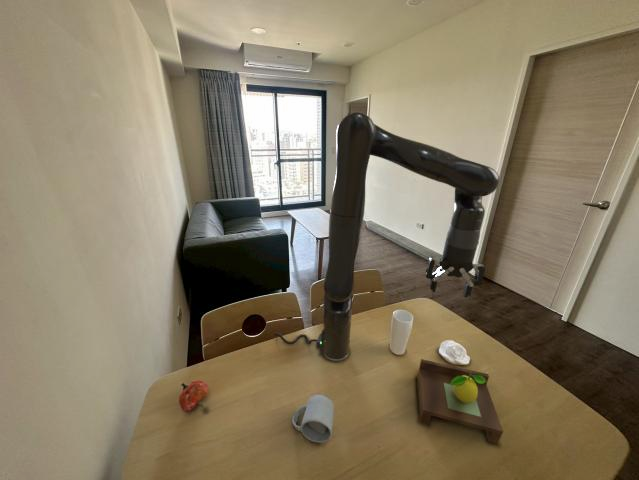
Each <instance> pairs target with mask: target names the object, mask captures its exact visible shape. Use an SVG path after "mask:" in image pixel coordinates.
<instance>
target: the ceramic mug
mask: <svg viewBox="0 0 639 480" xmlns="http://www.w3.org/2000/svg"><path fill="white" fill-rule="evenodd" d="M302 413H304V415H303V418H302V422H301V425H297V421H298V419H299V417H300V415H301V414H302ZM334 415H335V405H334V402H333V399H332V398H330V396H328V395H326V394H324V393H315V394H313V395H311V396H310V397H309V399H308V401H307V403H306V405H303V406H301V407H299V408H297V410H296V411H295V412H294V414H293V416H292V420H291V421H292V425H293V427H294V428H295V430H296V431H298V432H300V433H301V434H302V435H303V436H304V437H305V439H307V440H309V441H310V442H313V443H318V444H319V443H320V444H321V443H325V442H328V441H329V440H330V439H331V437H332V435H333V425H334Z"/></svg>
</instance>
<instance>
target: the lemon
mask: <svg viewBox="0 0 639 480" xmlns="http://www.w3.org/2000/svg"><path fill="white" fill-rule="evenodd" d="M470 376H471V372H470V375H469V376H457V377H455V378H453V379H452V381H451V383H450V384H452V385H454V386H453V390H454V394H455V396H456V397H457V398H458V399H459V400H460V401H462V402H464V403H472V402H474V401H475V400H476V398H477V395H478V388H477V385H476V383H475V381H476V382H478V383H480V384H483V383H484V382H486V380H485V378H484V377H483V376H481V375H472V376H473V378H474V379H475V381H474V380H473V379H472V378H470Z"/></svg>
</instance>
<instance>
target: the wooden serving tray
mask: <svg viewBox="0 0 639 480" xmlns="http://www.w3.org/2000/svg"><path fill="white" fill-rule="evenodd" d="M470 372H471V376H470V378H472V379H473V380H474V381H475V379H474V378H473V376H472V375H481V376H483V377H484V378H485V380H486V382H484V383H483V384H480V383H478V382H476V381H475V383H476V385H477V388H478V395H477V398H476V400H475V401H474V402H472V403H464V402H462V401H460V400H459V399H458V398H457V397H456V396H455V394H454V390H453V386H454V385H452V384H450V383H451V381H452V379H453V378H455V377H457V376H469V375H470ZM489 378H490V376H489V374H488V373H485V372H481V371H476V370H472V369H467V368H462V367H459V366H454V365H453V366H452V365H450V364H444V363H440V362H435V361H432V360H428V359H423V358H422V359H420V362H419V367H418V372H417V376H416V384H417V396H418V398H417V399H418V408H419V409H418V410H419V421H420V423H421V424H424V425H429V424H430V420H431V416H432V417H437V418H440V419H444V420H447V421H450V422H453V423H454V422H455V423H459V424H462V425H465V426H468V427H472V428H475V429H479V430H483V431H485V435H486V439H487V442H488V443H492V444H494V445H498V444H499V442H500V441H501V438H502V435H503V433H504V429H503V427H502V425H501V421H500V418H499V416H498V413H497V410H496V408H495V405H494V402H493V399H492V396H491V394H490V391H489V388H488V385H487V384H488V381H489Z"/></svg>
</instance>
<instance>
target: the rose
mask: <svg viewBox="0 0 639 480" xmlns="http://www.w3.org/2000/svg"><path fill="white" fill-rule="evenodd" d="M438 354H439V355H440V356H441V357H442V358H443V359H444V360H445V361H446V362H447V363H449V364H451V365H459V366H467V365H469V364H470V361H471V357H470V356H469V355H468V354H467V350H466V348H465V347H464V346H463V345H462V344H460V343H458V342H456V341H454V340H452V339H449V340H444V341H442V342H441V343H440V346H439V349H438Z"/></svg>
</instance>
